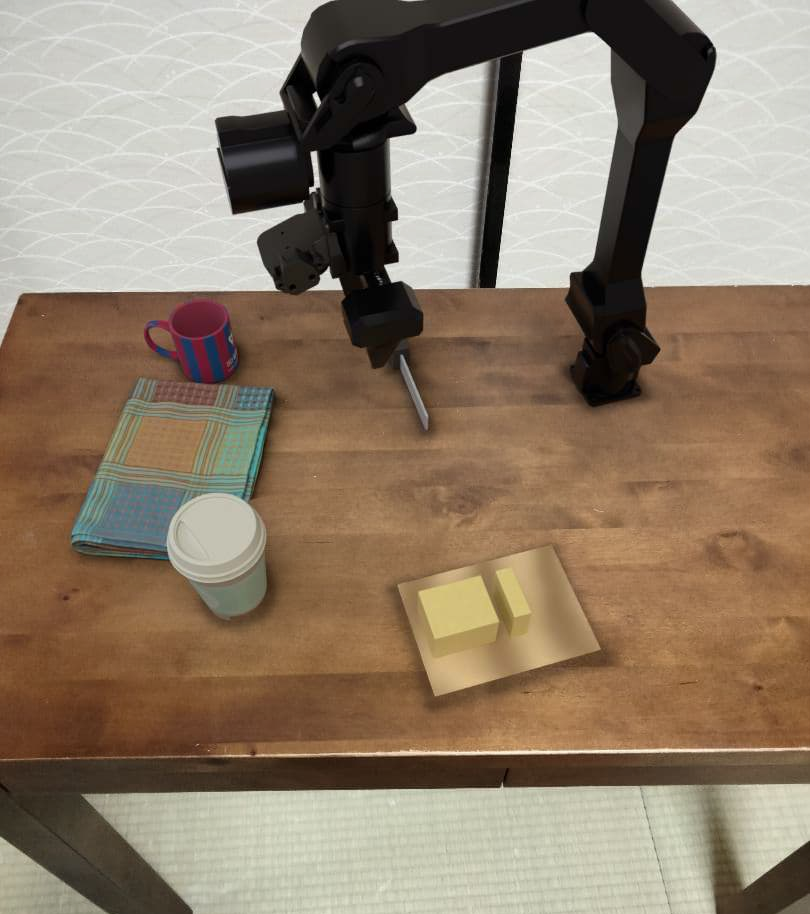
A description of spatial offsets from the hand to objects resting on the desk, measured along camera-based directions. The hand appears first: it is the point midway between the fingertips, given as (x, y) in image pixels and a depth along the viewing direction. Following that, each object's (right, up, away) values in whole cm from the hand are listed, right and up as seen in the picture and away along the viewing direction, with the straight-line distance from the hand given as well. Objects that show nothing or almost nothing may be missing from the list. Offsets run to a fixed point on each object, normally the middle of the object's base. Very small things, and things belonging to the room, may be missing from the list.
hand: (364, 334), depth 79 cm
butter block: (+9, -28, -3) cm, 29 cm away
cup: (-21, +1, +18) cm, 28 cm away
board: (+12, -28, -1) cm, 30 cm away
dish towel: (-20, -13, +9) cm, 26 cm away
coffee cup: (-12, -25, +1) cm, 28 cm away
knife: (+4, -1, +17) cm, 17 cm away
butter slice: (+14, -27, -2) cm, 30 cm away
